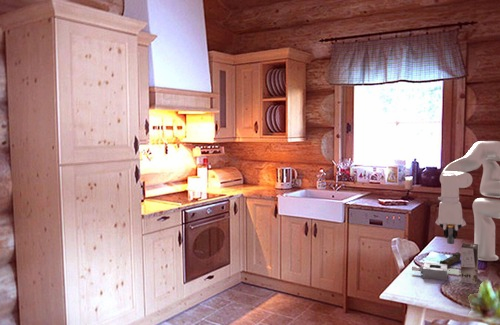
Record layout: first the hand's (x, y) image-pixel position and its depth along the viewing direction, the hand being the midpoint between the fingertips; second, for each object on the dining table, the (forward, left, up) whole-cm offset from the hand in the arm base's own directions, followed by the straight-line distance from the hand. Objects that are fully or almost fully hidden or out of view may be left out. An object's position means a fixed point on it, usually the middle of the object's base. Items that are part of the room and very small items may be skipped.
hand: (450, 237), depth 202 cm
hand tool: (-13, 0, -17) cm, 22 cm away
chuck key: (0, 0, -3) cm, 3 cm away
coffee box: (+10, +8, -17) cm, 21 cm away
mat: (+1, 0, -17) cm, 17 cm away
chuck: (+11, -9, -17) cm, 22 cm away
